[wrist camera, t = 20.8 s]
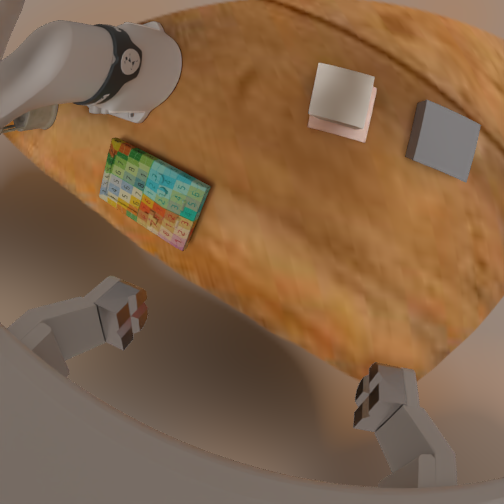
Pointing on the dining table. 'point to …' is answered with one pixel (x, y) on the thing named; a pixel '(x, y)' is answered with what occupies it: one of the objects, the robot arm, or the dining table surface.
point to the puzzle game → (153, 192)
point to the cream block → (341, 96)
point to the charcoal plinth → (443, 140)
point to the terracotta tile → (343, 130)
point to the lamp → (34, 119)
